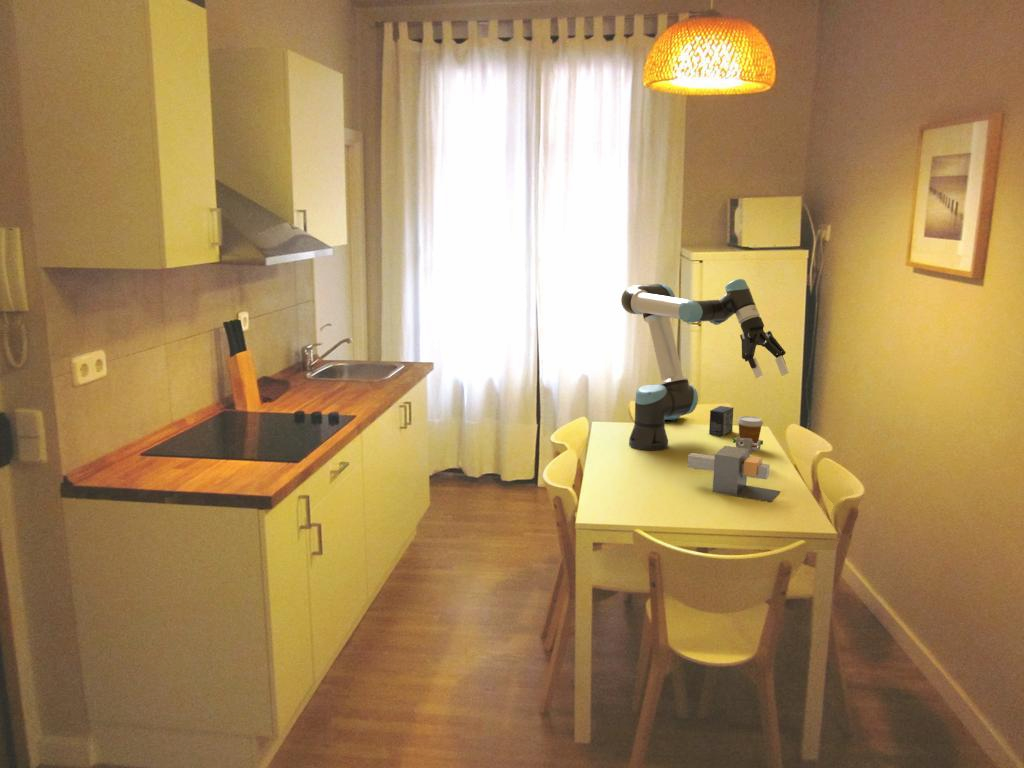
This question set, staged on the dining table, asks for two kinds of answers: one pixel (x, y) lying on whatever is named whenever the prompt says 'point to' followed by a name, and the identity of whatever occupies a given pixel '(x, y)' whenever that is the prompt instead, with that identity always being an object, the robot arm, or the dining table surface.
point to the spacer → (751, 465)
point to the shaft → (708, 464)
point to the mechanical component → (747, 444)
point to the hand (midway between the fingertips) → (772, 375)
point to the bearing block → (729, 470)
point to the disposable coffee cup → (750, 428)
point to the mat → (758, 493)
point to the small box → (721, 421)
